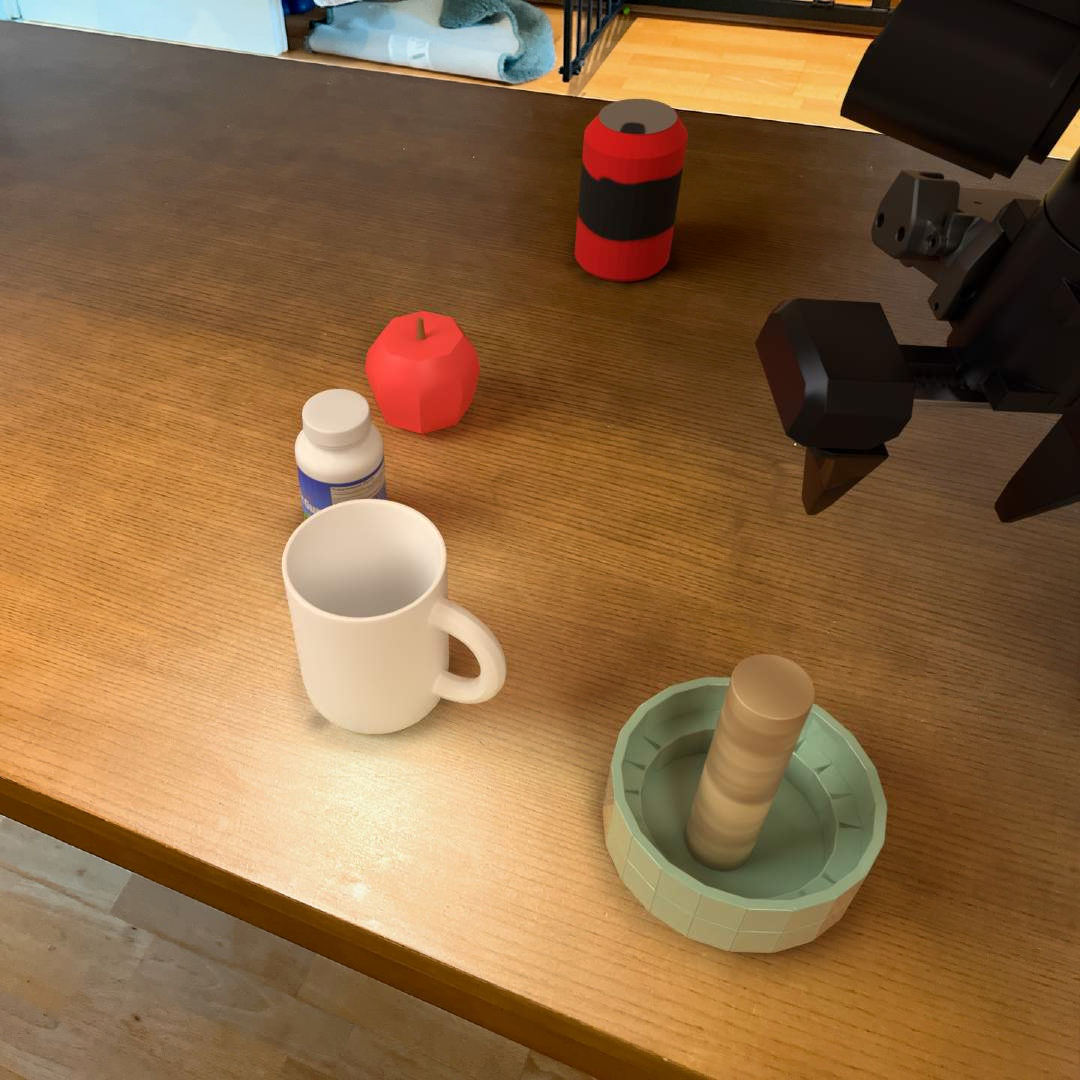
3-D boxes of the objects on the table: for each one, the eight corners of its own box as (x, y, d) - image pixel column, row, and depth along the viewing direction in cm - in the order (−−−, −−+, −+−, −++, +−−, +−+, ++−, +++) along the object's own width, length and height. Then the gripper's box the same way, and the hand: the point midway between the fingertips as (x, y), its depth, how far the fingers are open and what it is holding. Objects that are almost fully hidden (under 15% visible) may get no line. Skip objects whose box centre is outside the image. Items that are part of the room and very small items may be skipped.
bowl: (866, 770, 55) (895, 715, 51) (844, 995, 47) (876, 950, 44) (630, 706, 58) (641, 651, 55) (576, 906, 51) (585, 857, 47)
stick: (694, 801, 54) (743, 642, 44) (759, 826, 52) (823, 669, 43) (675, 854, 52) (721, 701, 42) (742, 882, 51) (805, 730, 41)
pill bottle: (295, 510, 71) (275, 395, 63) (371, 486, 72) (360, 370, 64) (322, 566, 67) (304, 451, 60) (402, 540, 68) (394, 423, 61)
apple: (345, 412, 77) (335, 319, 71) (427, 363, 80) (424, 270, 74) (420, 466, 73) (415, 372, 67) (503, 412, 76) (506, 318, 70)
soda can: (567, 278, 86) (577, 136, 78) (582, 229, 91) (594, 90, 82) (663, 288, 84) (685, 144, 76) (673, 237, 89) (695, 96, 80)
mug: (534, 679, 60) (544, 555, 52) (466, 794, 55) (466, 677, 48) (352, 602, 65) (337, 479, 57) (276, 702, 60) (248, 582, 53)
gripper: (1263, 113, 42) (1030, 393, 54) (802, 80, 40) (672, 375, 53) (1437, 304, 35) (1126, 573, 48) (894, 273, 34) (720, 558, 46)
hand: (904, 511), depth 49 cm, fingers open, 9 cm apart
